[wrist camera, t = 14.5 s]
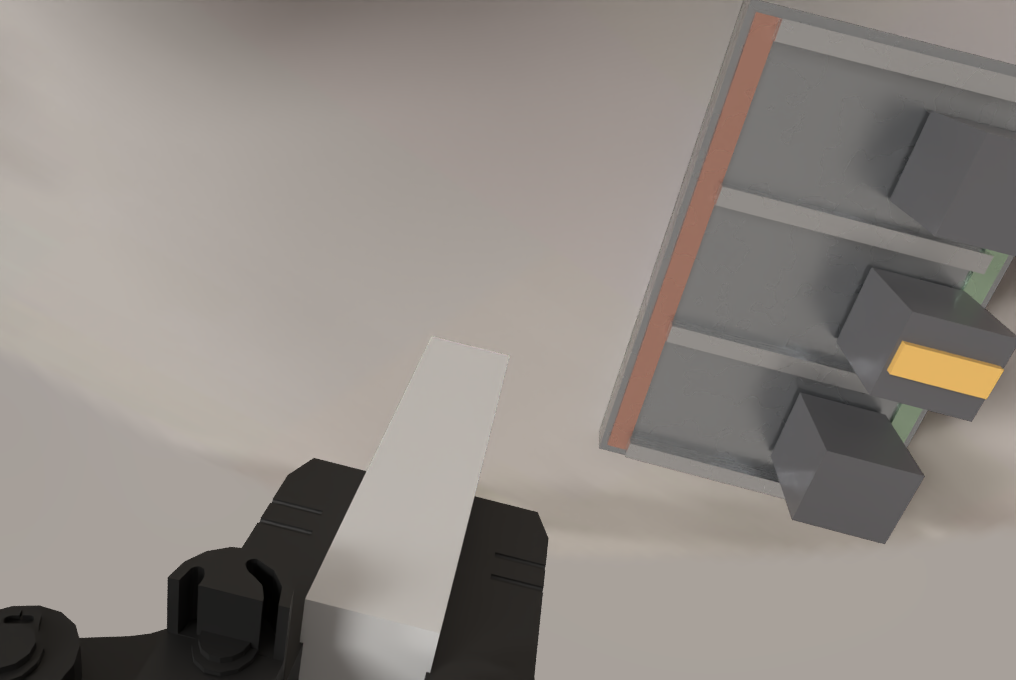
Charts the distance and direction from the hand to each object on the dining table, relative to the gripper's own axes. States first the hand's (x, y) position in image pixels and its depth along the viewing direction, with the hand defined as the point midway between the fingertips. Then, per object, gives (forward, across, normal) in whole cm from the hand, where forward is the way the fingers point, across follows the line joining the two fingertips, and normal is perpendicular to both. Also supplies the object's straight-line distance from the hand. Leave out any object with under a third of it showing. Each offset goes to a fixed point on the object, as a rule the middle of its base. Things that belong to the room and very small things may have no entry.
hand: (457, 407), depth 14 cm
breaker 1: (+27, +20, -13) cm, 36 cm away
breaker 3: (+27, +20, -5) cm, 34 cm away
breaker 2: (+27, +20, +3) cm, 34 cm away
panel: (+29, +16, -5) cm, 34 cm away
